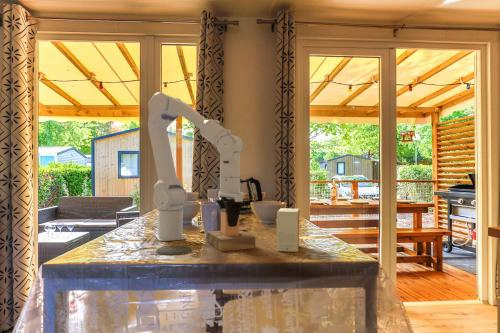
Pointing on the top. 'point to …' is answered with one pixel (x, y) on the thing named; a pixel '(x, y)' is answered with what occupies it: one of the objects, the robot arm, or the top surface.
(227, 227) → the plug
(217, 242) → the tan square socket
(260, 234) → the top surface
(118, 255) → the top surface
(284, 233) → the small box
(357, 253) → the top surface
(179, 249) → the coaster
